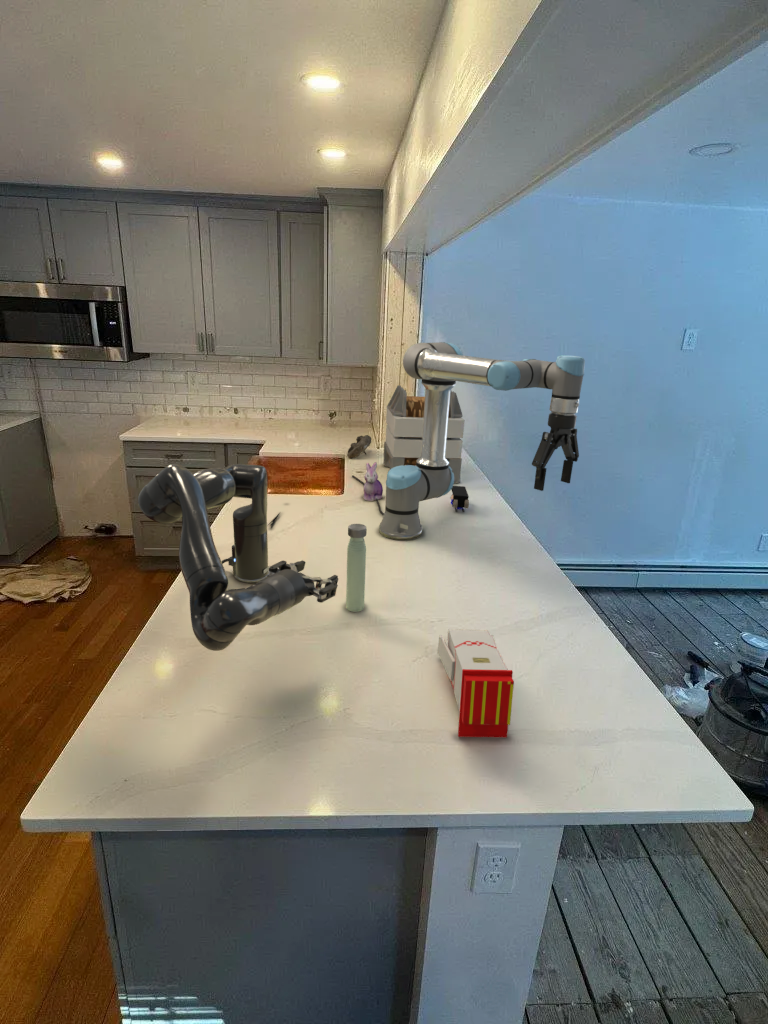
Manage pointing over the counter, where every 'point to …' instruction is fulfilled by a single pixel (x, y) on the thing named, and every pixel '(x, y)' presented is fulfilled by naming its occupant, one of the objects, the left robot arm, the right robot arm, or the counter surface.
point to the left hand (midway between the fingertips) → (319, 572)
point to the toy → (478, 682)
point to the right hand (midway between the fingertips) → (552, 485)
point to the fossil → (359, 446)
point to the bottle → (355, 574)
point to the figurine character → (459, 498)
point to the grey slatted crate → (419, 431)
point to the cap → (357, 530)
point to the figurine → (372, 484)
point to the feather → (273, 520)
